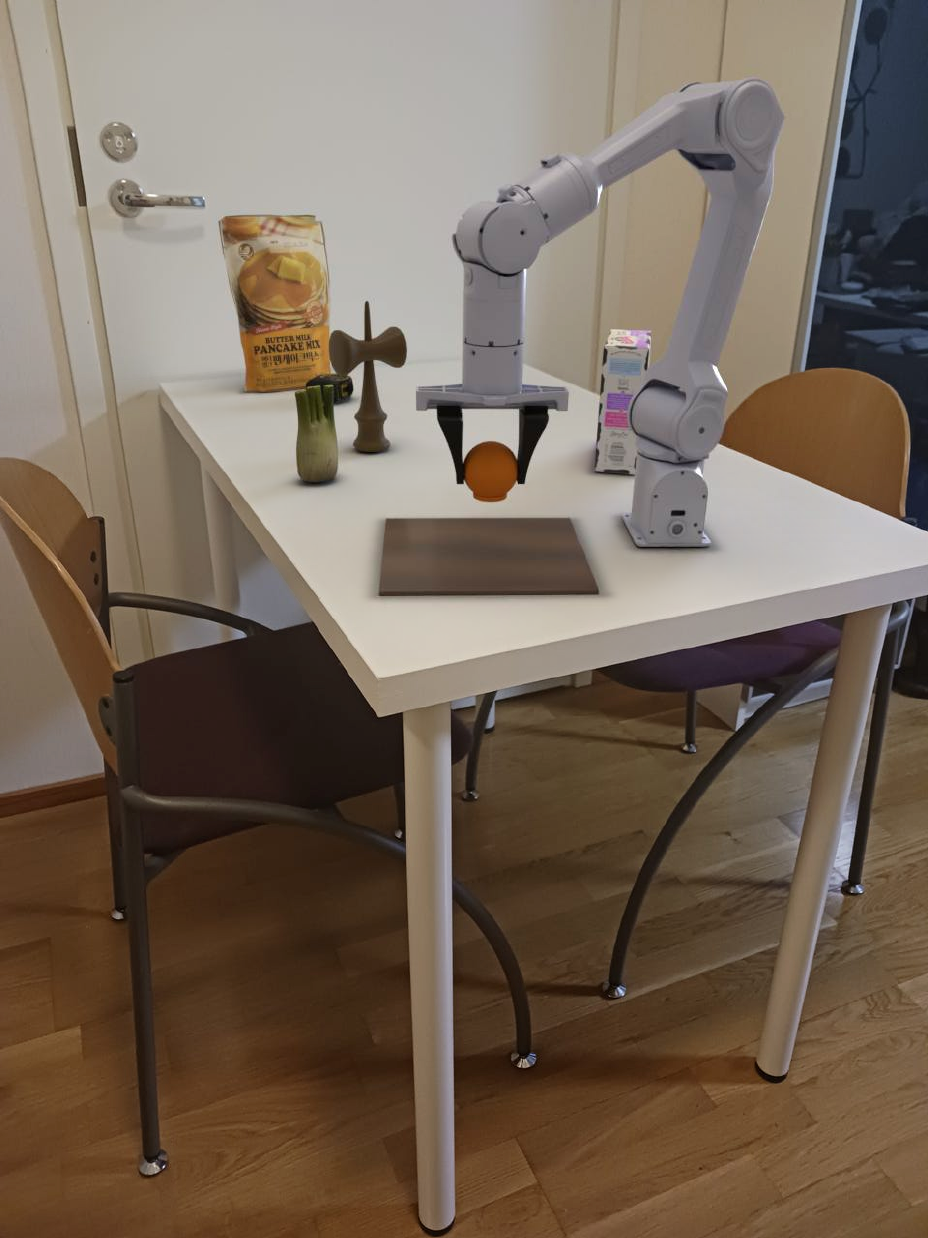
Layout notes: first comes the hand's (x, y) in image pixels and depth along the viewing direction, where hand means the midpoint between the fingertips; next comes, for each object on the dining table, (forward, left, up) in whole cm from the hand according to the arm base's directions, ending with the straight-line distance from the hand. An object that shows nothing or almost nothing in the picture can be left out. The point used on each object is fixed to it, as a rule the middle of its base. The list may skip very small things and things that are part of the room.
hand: (489, 481), depth 96 cm
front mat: (+1, 0, -8) cm, 8 cm away
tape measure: (+69, +22, -9) cm, 73 cm away
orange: (0, 0, -2) cm, 2 cm away
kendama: (+40, +14, -9) cm, 43 cm away
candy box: (+35, -20, -9) cm, 41 cm away
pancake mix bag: (+80, +31, -9) cm, 86 cm away
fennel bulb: (+26, +20, -9) cm, 34 cm away
